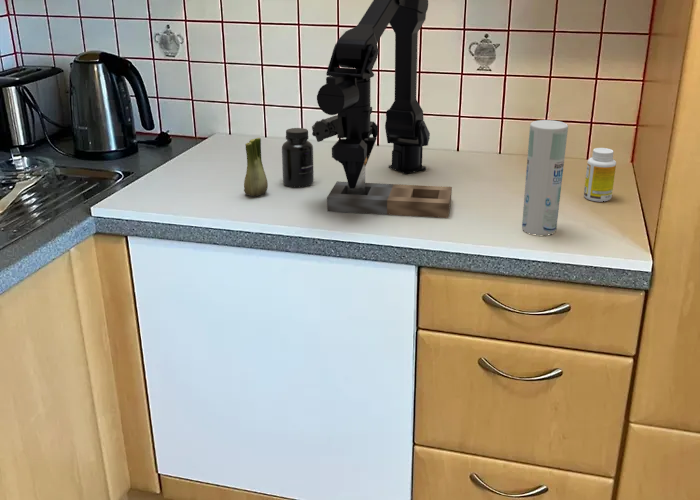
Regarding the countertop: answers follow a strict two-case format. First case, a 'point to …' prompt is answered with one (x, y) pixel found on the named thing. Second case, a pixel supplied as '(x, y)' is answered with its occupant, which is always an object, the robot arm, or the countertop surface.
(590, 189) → the supplement bottle
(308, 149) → the supplement bottle
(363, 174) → the lock pin
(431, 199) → the pin dock plate
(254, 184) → the fennel bulb
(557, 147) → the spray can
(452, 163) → the countertop surface
